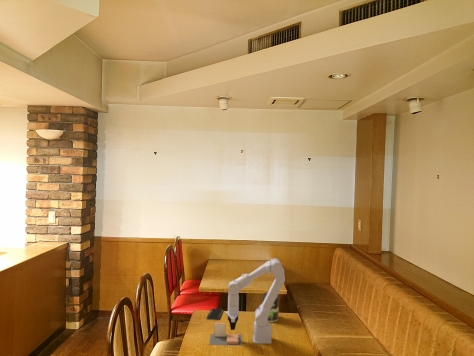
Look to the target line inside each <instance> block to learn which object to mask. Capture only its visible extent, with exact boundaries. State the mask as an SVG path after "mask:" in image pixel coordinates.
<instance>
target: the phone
mask: <svg viewBox="0 0 474 356" xmlns="http://www.w3.org/2000/svg"><path fill="white" fill-rule="evenodd" d="M223 312H224V310H223V308H210V310H209V312H208V314H207V316H206V320H209V321H219V320H220V319H221V317H222V314H223Z"/></svg>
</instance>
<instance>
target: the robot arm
mask: <svg viewBox="0 0 474 356" xmlns="http://www.w3.org/2000/svg"><path fill="white" fill-rule="evenodd" d="M263 274H270V275H271V274H273V276H274V280H273V282H272V284H271V286H270V288H269V290H268V291H267V293H268V294H267V296H266V297H265V299H264V301H263V303H261V304H259V307H258V308H256V309H255V311H254V316H255V317H254V318H255V320H254V322H253V335H252V341H253V344H272V337H273V335H272V332H273V331H272V329H273V327H272V323H271V322H268V316H269V313H270V309H271V307H272V305H273V303H274V301H275V299H276V297H277V295H279V293H280V291H281V289H282V287H283V286H284V284H285V281H286V278H285V277H286V276H285V269H284V266H283V265H282V263H281V261H280V259H279V258H276V257H274V258H271V259H270V260H266V262H265V263H263V264H261V265H260V266H258V267H257V268H256V269H255V270H253V271H252V272H250V273H242V274H241V275H240V277H238V278H235V279H234V280H231V281H230V282H229V283H228V286H227V287H228V288H227V290H228V294H227V295H228V296H227V311H225V315H227V320H228V323H229V327H230V331H236V326H237V322H238V321H239V315H240V311H239V310H240V308H239V305H240V303H239V301H240V296H239V295H240V294H239V293H240V290H241V291H242V290H243V289H244V288H246V287H248V286H249V285H251V284H252V282H253V280H255V279H256V278H258V277H260V276H262V275H263Z"/></svg>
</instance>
